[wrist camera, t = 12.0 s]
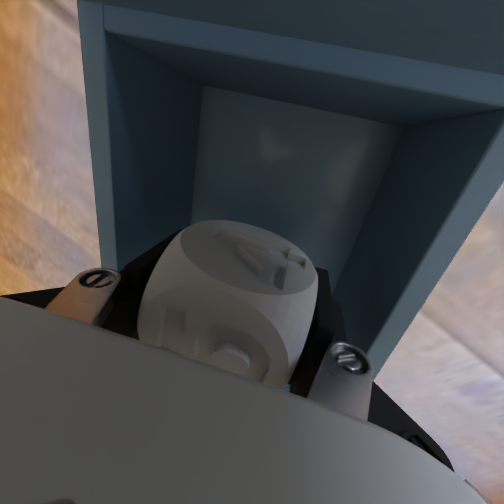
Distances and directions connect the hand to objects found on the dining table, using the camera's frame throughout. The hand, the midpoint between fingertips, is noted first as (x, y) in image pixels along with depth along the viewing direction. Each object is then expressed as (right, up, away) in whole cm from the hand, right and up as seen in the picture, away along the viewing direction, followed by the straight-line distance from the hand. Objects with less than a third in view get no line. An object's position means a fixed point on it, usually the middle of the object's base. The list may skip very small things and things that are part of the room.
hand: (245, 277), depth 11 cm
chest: (+2, +4, +7) cm, 8 cm away
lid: (-1, +3, -12) cm, 12 cm away
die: (0, 0, +1) cm, 1 cm away
